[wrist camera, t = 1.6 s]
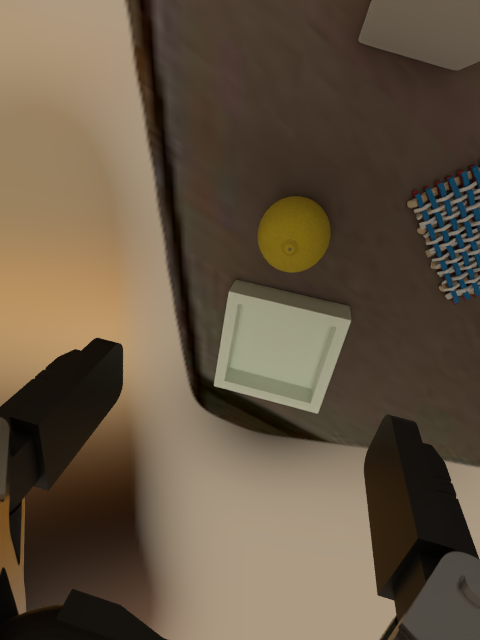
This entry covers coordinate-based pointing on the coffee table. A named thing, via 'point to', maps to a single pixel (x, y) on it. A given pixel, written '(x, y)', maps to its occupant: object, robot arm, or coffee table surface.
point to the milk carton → (426, 30)
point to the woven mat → (453, 231)
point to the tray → (280, 345)
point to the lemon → (294, 234)
